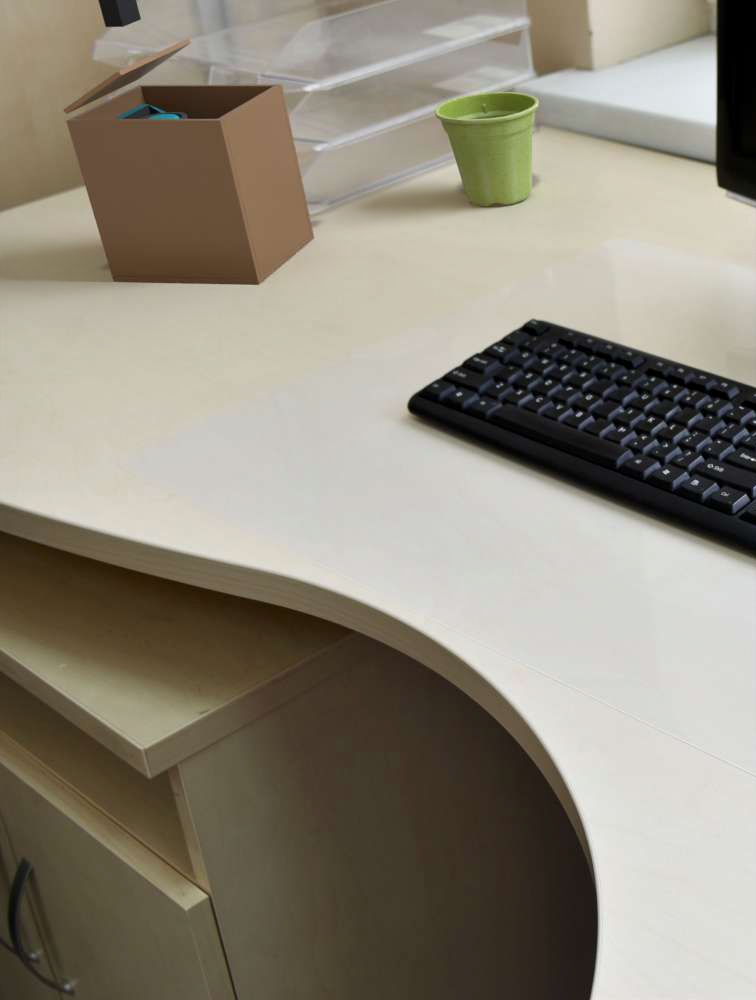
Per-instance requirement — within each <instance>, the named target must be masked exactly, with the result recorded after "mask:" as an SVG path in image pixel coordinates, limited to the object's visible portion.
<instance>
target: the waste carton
mask: <svg viewBox="0 0 756 1000" xmlns="http://www.w3.org/2000/svg"><path fill="white" fill-rule="evenodd" d="M144 104H148V105H150V106H153V107H155V108H158V109H160V110H162V111H164V112H182V113H185V114H187V117H188V119H115V118H117V117H119V116H121V115H123V114H124V113H126V112H128V111H130V110H132V109H134V108H136V107H138V106H140V105H144ZM290 121H291V120H290V117H289V111H288V107H287V102H286V97H285V93H284V88H283V85H282V83H281V84H280V83H278V84H276V83H273V84H272V83H271V84H270V83H269V84H268V83H265V84H263V83H262V84H261V83H260V84H259V83H258V84H257V83H256V84H252V83H251V84H250V83H249V84H246V83H245V84H243V83H241V84H235V83H233V84H137V85H135V86H133V87H131V88H129V89H128V90H126V91H124V92H122V93H120V94H118V95H115V96H113V97H111V98H109V99H107V100H104V101H103V102H101V103H99V104H96V105H95V106H93V107H91V108H88V109H86V110H85V111H83V112H81V113H78V114H77V115H75V116H73V117H70V118H69V119H67V120H66V125H67V128H68V132H69V135H70V138H71V142H72V144H73V145H72V146H73V148H74V152H75V155H76V159H77V163H78V165H79V169H80V173H81V176H82V180H83V182H84V186H85V190H86V193H87V197H88V199H89V204H90V206H91V210H92V214H93V217H94V220H95V223H96V227H97V230H98V233H99V237H100V240H101V241H100V242H101V244H102V247H103V251H104V253H105V257H106V260H107V264H108V267H109V271H110V275H111V278H112V281H113V283H152V284H153V283H159V284H163V283H164V284H206V285H207V284H209V285H210V284H211V285H260V284H261V283H263V282H264V281H265V280H267V279H268V278H269V277H270V276H271V275H272V274H274V273H275V272H276V271H277V270H278V269H279V268H280V267H282V266H283V265H285V263H286V262H288V261H289V260H290V259H291V258H293V256H295V255H296V254H297V253H298V252H299V251H301V250H302V249H303V248H305V246H307V245H308V244H309V243H310V242H311V241H312V240H314V239H315V235H314V230H313V225H312V221H311V215H310V211H309V206H308V202H307V197H306V193H305V187H304V182H303V178H302V173H301V169H300V163H299V159H298V154H297V150H296V145H295V140H294V135H293V130H292V126H291V122H290Z"/></svg>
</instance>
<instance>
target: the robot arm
mask: <svg viewBox="0 0 756 1000" xmlns="http://www.w3.org/2000/svg"><path fill="white" fill-rule="evenodd" d="M97 1H98V4H99V7H100V12H101V15H102V19H103V22H104V27H106V28H123V27H127V26H128V25H131V24H134V23H135V22H139V21H141V19H142V17H141V13H140V10H139V5H138V2H137V0H97Z"/></svg>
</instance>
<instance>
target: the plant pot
mask: <svg viewBox="0 0 756 1000" xmlns="http://www.w3.org/2000/svg"><path fill="white" fill-rule="evenodd" d="M539 105H540V103H539V99H538V98H537V97H536V96H533V95H531V94H530V93H529V94H528V93H523V92H517V91H516V92H514V91H494V92H493V91H492V92H481V93H475V94H468V95H462V96H459V97H456V98H452V99H449V100H446V101H444V102H442V103H440V104H438V105H437V106H436V107H435V109H434V115H435V116H436V118H437V119H438V120H440V122H441V125H442V128H443V131H444V132H445V133H446V134H447V137H448V139H449V143H450V146H451V150H452V153H453V156H454V159H455V162H456V166H457V169H458V172H459V176H460V180H461V183H462V187H463V189H464V193H465V196H466V199H467V201H468V202H469V203H471V204H473V205H477V206H480V207H490V206H492V205H493V204H501V205H504V206H506V205H514V204H517V203H519V202H521V201H525V200H526V199H528V198H530V197H531V195H532V190H533V128H534V127H533V125H534V123H535V119H536V110H538V108H539Z"/></svg>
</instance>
